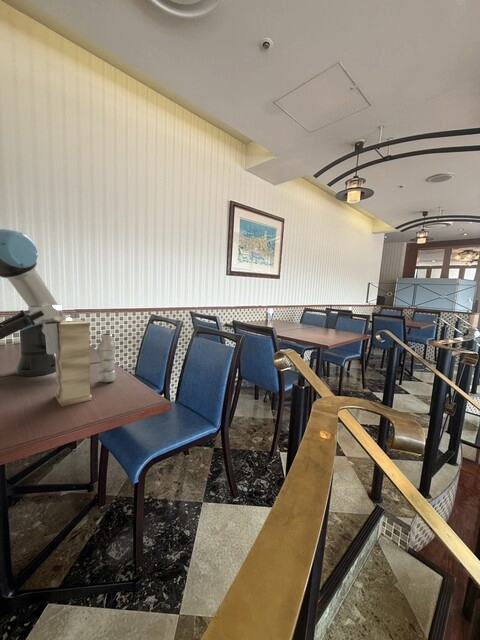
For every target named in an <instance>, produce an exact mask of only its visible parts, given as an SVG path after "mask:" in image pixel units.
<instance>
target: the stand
mask: <svg viewBox="0 0 480 640" xmlns="http://www.w3.org/2000/svg"><path fill="white" fill-rule="evenodd" d="M57 330H58V342H59V353H56V354H55V357H56V371H55V378H56V379H55V380H56V381H55V385H56V386H55V387H56V392H54V397H55V398H56V401H57V402H58V403H59V405H60V407H65V406H66V407H67V406H69V405H75V404H79V403H84V402H88V401H92V400H93V395H92V394H91V372H90V370H91V369H90V367H91V365H90V363H91V362H90V354H91V353H90V322H88V321H84V320H82V319H72V320H63V321H62V322H59V323H57Z"/></svg>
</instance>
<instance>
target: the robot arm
mask: <svg viewBox="0 0 480 640" xmlns="http://www.w3.org/2000/svg"><path fill="white" fill-rule="evenodd" d="M37 254H38V249H37V246H36V245H35V243H34V240H32V239H31V238H30V237H29V236H27V235H26V234H24V233H23V232H20V231H18V230H11V229H5V228H1V229H0V278H3V279H8V281H9V282H10V284H11V285H12V286H13V288H14V289H15V290H16V292H17V293H18V295H19V296H20V297H21V298H22V300H23V301H24V302H25V304H26V305H27V306H28V307H29V306H30V305H46V306H44V307H41V308H39V309H37V310H35V311H33V312H31V313H29V314H28V315H26V316H25V314H24V311H25V310H23V309H21V310H20V311H19V312H18V313H17V314H15V315H13V316H11V317H9V318H7V319H4V320H3V321H1V322H0V340H2V339H4V338H7V337H8V336H10V335H12V334H15V333H17V332H19V344H20V357H19V360H18V362H17V367H16V370H15V371H16V375H17V376H20V377H36V376H43V375H44V376H45V375H49V374H53V373H56V354H49V355H48V354H47V350H46V340H45V329H44V324H35V323H34V322H35V321H37V320H39V319H41V318H43V317H45V316H47V315H49V314H51V313H53V312H55V311H56V310H55V308H54V307H53V305H55V304H58V301H56V299H55V297H54V296H53V295H52V293H51V291H50V290H49V289H48V287H47V286H46V283H45V282H44V280H43V279H42V277H41V275H40V274H39V273H38V271H37V270H36V268H37V265H38V262H37V260H38V256H39V255H37ZM26 311H28V310H26ZM62 313H63V320H73V318H72V317H71V316H68V315H66V314H65V312H63V311H62Z"/></svg>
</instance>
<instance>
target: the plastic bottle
mask: <svg viewBox="0 0 480 640" xmlns="http://www.w3.org/2000/svg"><path fill="white" fill-rule="evenodd" d="M112 339H113V334H111V333H102V334H101V341H100V343H98V345H97V351H98V356H99V357H98V359H99V370H98V375H97V376H98V381H99V382H101V383H111V382H114V381H115V380H116V377H117V374H116V370H115V354H116V345H115V343H114V341H113V340H112Z"/></svg>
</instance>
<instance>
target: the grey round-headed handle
mask: <svg viewBox="0 0 480 640" xmlns="http://www.w3.org/2000/svg"><path fill="white" fill-rule="evenodd" d="M44 306H46V305H30V306H28V311H27V310H23V311H24V314H25V316H26V315H28V314H29V313H31V312H33V311H35V310H37V309H39V308H41V307H44ZM53 307H54V308H55V310H56V311H55V312H53V313H51V314H49V315H47V316H45V317H43V318H41V319H39V320H37V321H35V322H34V323H35V324H44V329H45V340H46V350H47V354H48V355H49V354H54V355H56V353H59V342H58V330H57V323H59V322H62V321H63V313H64V312H63V309H62V305H61V304H59V303H57V304H55V305H53ZM62 312H63V313H62Z"/></svg>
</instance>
